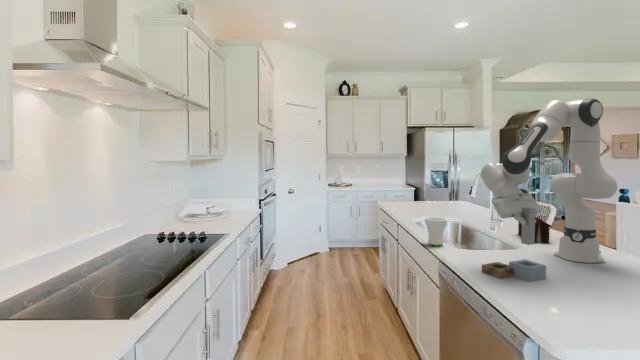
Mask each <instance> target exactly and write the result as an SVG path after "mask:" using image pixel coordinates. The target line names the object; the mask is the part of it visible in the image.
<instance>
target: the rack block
mask: <svg viewBox="0 0 640 360" xmlns="http://www.w3.org/2000/svg"><path fill="white" fill-rule="evenodd" d="M508 265H509V267H511V268H514V276H513V277H516V278H519V279H521V280H524V281H527V282H534V281H539V280H544V279H547V265H546V264H543V263H539V262H536V261H531V260H528V259H519V260H514V261H513V260H512V261H509V262H508Z"/></svg>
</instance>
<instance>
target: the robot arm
mask: <svg viewBox="0 0 640 360" xmlns="http://www.w3.org/2000/svg"><path fill="white" fill-rule="evenodd" d="M603 113H604V107H603V104H602V103H601V102H600V100H598V99H597V98H584V99H575V100H570V101H567V102H565V101H562V100H559V99H554V100H550V101H548V102H547V103H546V104H545V105H544V106H543V107H542V108H541V109H540V110H539V111H538V112H537V114H536V115H535V116H534V119H533V120H532V122H531V123H530V125H529V127H528V128H527V130H526V131H525V132H524V134H523V135H522V137H520V139H519V140H518V142H516V144H515V145H514V146H513V147H511V148H509V149H508V150H506V151H505V153H504V154H503V155H502V157H501V163H500V162H499V163H498V162H497V163H495V162H489V163H488V164H487V163H486V164H485V165H484V166H483V167H482V169H481V170H480V178H481V180H482V182H483V183H484V185H485V186H486V188H487V189H488V190H489V191H491V192H492V196H493V197H492V198H491V203H492V205H493V208H494V209H495V211H496V213H497V214H498V216H499V217H500V218H501V219H509V218H514V220H516V221H517V222H520V223H521V224H522V225H527V224H528V222H527V220H526V219H523V218H522V217H521V216H522V208H525V207H530V208H535V215H537V214H538V213H539V212H541V209H542V208H541V206H540V204H539V203H538V202H537V201H536V200H535V198H534V197H533V196H532V195H530V192H529V191H528V190H527V189H524V188H520V187H517V186H520V185H522V184H524V183H526V181H528V180H529V177H530V172H531V160H532V153H533V151H534V150H535V149H536V148H537V145H538V144H539V143H547V142H550V141H552V140H553V139H555V138H556V137H557V135H558V134H559V133H560V131H561V130H562V129H563V128H564V127H567V128H568V127H570V128H571V132H570V137H569V148H568V149H569V150H568V159H569V161H570V162H571V163H573V164H574V165H576V166H578V167H579V169H580V173H579V172H577V173H576V172H562V173H557V174H554V175H553V176H552V178H551V179H550V182H549V187H550V191H551V192H552V193H553V194H555V195H556V196H557V197H558V198H559V200H560V202H561V203H562V206H563V209H564V216H565V217H564V218H565V219H564V221H565V222H564V224H565V225H564V227H563V236H561V237H559V243H558V251H555V252H554V254H553V255H554V256H557V257H560V258H562V259H563V260H567V261H571V262H578V263H587V264H593V263H594V264H595V263H596V264H597V263H604V264H605V263H606V260H605V258H604V257H603V254H602V253H601V250H600V243H599V241H598V240H597V239H596V238H597V229H596V217H597V216H596V212H595V210H594V209H593V208H591V207H590V206H588V205H587V204H586V203H585V202H584V199H591V200H592V199H593V200H602V199H603V200H605V199H611V198H612V197H614V196H615V194H617V191H618V183H617V181H616V179H615V178H614V177H613V176H611V175H610V174H609V173H607V171H606V170H605V168H604V167H603V165H602V162H601V127H600V121H601V118H602V116H603ZM535 223H536V220H535Z"/></svg>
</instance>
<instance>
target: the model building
mask: <svg viewBox="0 0 640 360" xmlns="http://www.w3.org/2000/svg"><path fill="white" fill-rule="evenodd" d="M521 217H522V216H521ZM535 220H536V223H535V244H550V233H551V232H550V230H551V228H552V227H553V226H552V225H551V224H549V223H547V222H546V221H544V220H542V219H541V216H540V215H538V217H537V216H535ZM517 222H518V225H517V228H518V229H517V230H518V231H517V232H518V233H517V236H519V237H520V236H521V234H522V224H521V223H520V222H519V221H517Z"/></svg>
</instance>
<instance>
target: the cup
mask: <svg viewBox="0 0 640 360" xmlns="http://www.w3.org/2000/svg"><path fill="white" fill-rule="evenodd" d="M447 223H448V219H447V218H445V217H441V216H427V217H425V218H424V224H425V226H426V229H427V233H428V239H427V243H428V245H429V246H430V247H432V246H434V247H436V248H438V247H443V245H444V239H443V237H444V232H445V228H446V225H448V224H447Z"/></svg>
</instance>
